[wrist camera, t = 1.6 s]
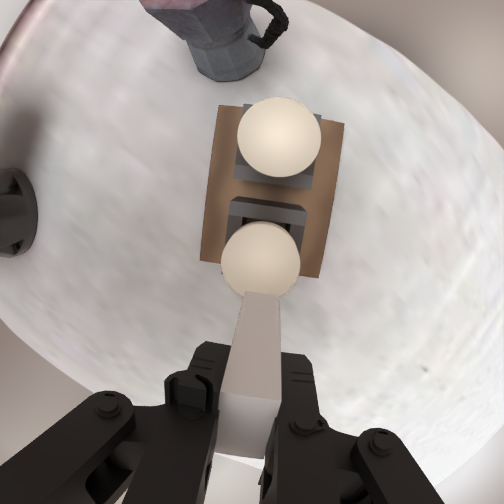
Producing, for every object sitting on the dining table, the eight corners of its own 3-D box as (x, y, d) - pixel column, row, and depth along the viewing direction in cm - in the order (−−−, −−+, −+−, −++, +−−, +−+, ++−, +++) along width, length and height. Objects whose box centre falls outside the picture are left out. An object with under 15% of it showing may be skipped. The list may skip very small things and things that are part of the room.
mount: (204, 254, 37) (185, 277, 28) (222, 109, 32) (207, 90, 24) (315, 271, 36) (327, 298, 28) (339, 126, 32) (359, 113, 23)
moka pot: (205, 6, 28) (159, -89, 9) (306, 54, 29) (335, -47, 10) (162, 57, 30) (79, -17, 11) (263, 111, 32) (251, 37, 12)
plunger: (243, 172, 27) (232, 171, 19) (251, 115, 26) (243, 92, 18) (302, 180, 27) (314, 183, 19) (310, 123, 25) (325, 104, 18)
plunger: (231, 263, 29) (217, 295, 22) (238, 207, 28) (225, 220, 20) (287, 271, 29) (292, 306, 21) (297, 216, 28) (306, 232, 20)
